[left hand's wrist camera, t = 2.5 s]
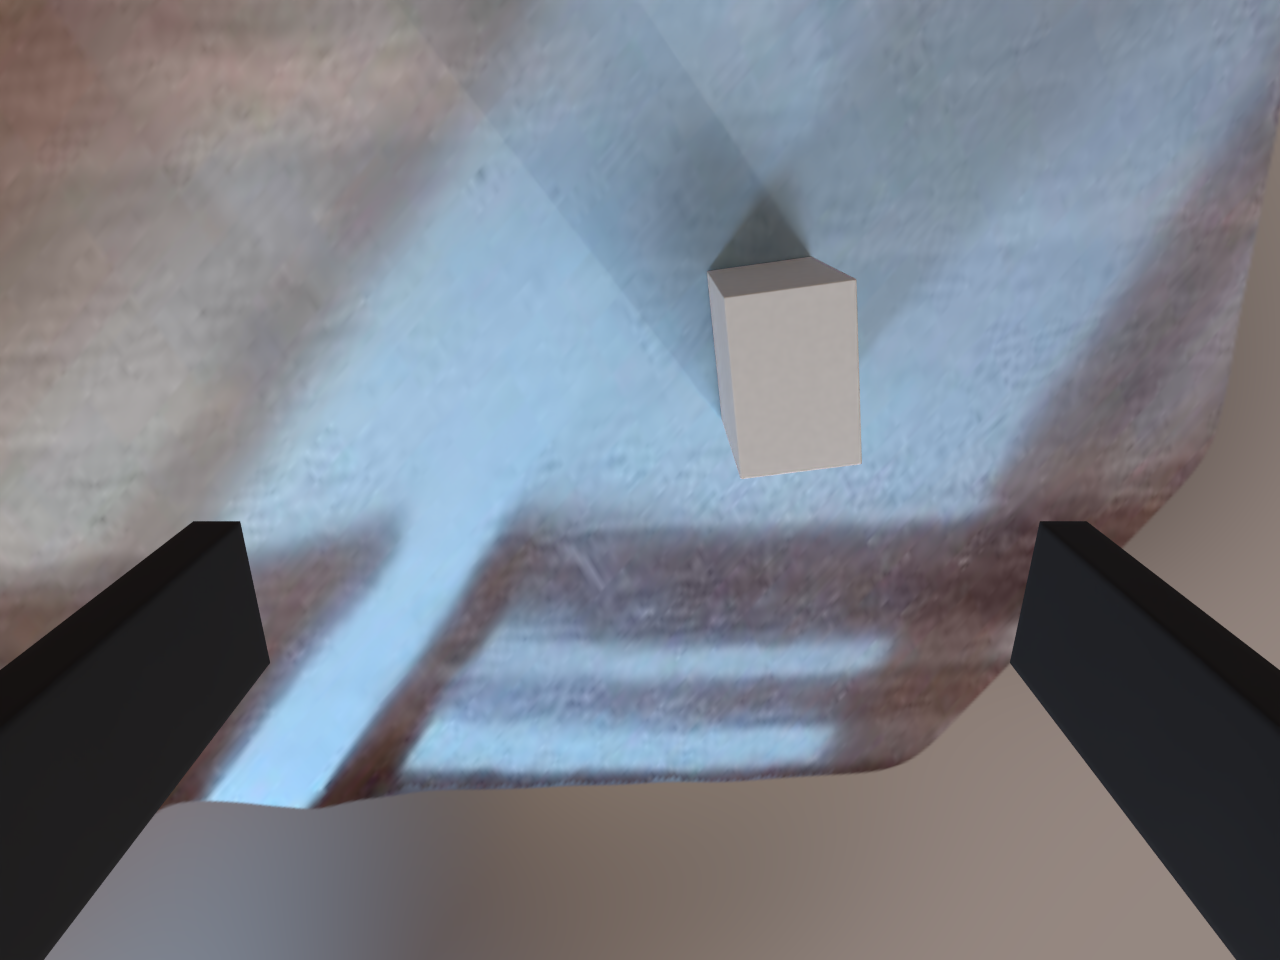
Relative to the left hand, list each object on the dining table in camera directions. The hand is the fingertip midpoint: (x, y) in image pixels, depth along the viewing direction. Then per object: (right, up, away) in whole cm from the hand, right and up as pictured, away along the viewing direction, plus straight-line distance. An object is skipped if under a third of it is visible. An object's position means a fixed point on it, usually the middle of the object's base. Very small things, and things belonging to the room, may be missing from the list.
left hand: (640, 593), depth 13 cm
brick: (+6, +9, +25) cm, 27 cm away
